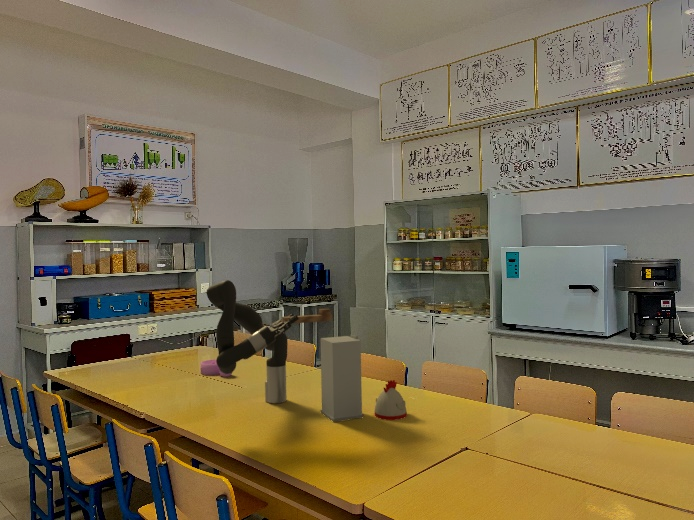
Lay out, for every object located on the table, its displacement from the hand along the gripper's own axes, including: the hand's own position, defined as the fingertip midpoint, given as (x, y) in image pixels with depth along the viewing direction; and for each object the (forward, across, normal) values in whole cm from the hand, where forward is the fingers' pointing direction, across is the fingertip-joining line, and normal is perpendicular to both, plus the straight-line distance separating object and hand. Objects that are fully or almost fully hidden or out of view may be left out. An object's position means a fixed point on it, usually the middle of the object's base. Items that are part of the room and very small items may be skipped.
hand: (295, 316), depth 226 cm
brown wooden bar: (+3, 0, -5) cm, 6 cm away
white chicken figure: (+12, +9, -58) cm, 60 cm away
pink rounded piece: (-34, -109, -32) cm, 118 cm away
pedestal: (-5, 0, -48) cm, 49 cm away
